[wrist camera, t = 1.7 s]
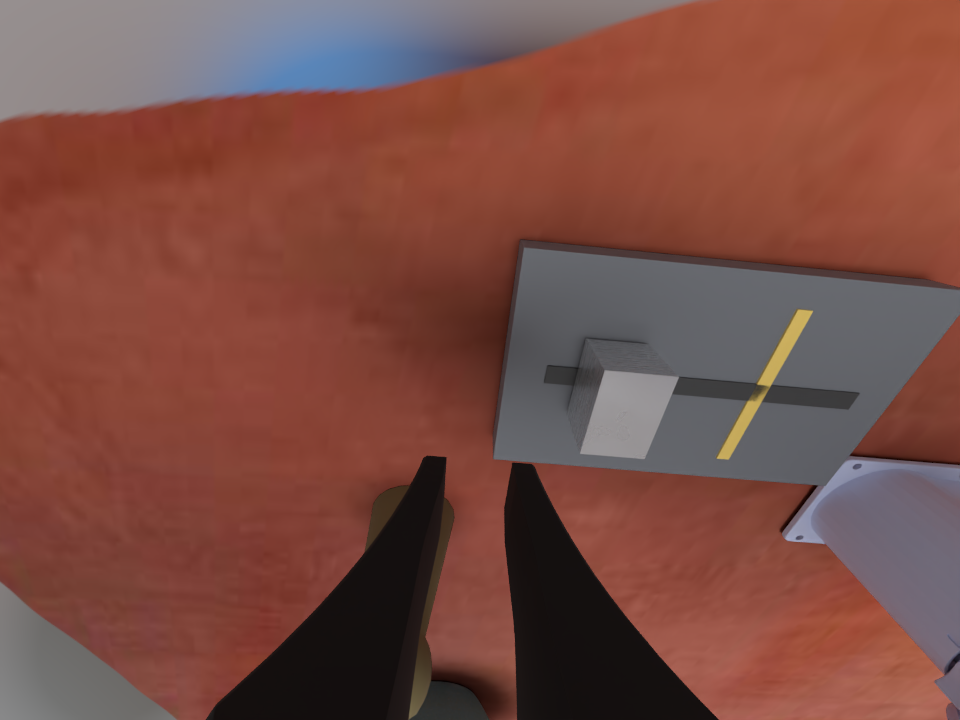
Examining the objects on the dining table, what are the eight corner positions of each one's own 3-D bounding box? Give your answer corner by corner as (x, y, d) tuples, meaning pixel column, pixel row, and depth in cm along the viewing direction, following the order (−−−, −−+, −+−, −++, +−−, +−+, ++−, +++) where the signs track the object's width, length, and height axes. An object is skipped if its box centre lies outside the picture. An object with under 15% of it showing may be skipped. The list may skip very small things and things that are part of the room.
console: (926, 279, 17) (980, 292, 15) (799, 461, 23) (826, 487, 21) (520, 239, 17) (524, 248, 15) (492, 436, 22) (493, 460, 20)
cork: (442, 479, 24) (412, 685, 15) (463, 535, 27) (449, 739, 17) (359, 491, 25) (279, 695, 15) (388, 545, 28) (335, 746, 18)
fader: (648, 344, 17) (679, 376, 14) (622, 418, 19) (644, 459, 16) (585, 338, 17) (604, 370, 14) (566, 413, 19) (579, 453, 16)
